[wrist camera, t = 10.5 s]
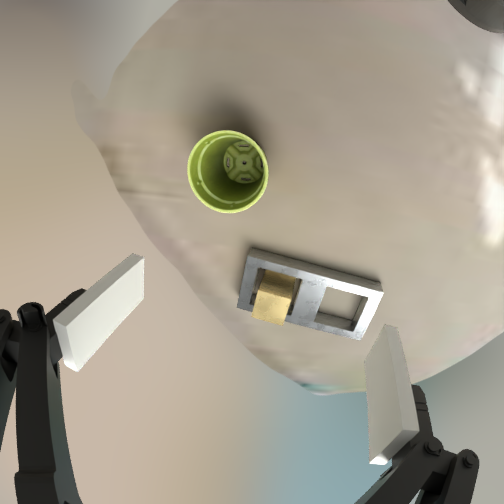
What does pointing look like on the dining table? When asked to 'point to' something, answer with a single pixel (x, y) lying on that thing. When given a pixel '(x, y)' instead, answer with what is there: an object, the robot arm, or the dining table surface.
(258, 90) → the dining table surface
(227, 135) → the plant pot
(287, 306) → the yellow rectangular block
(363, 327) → the grey double window frame
